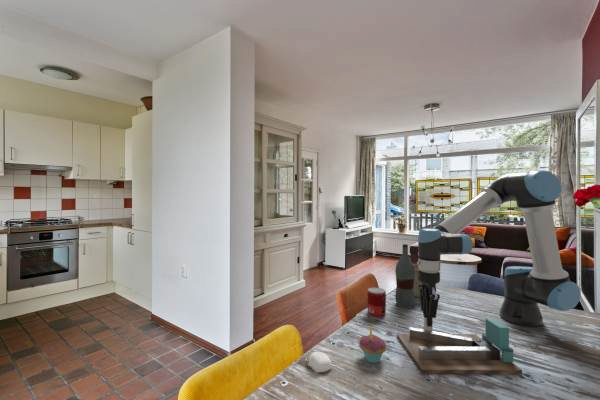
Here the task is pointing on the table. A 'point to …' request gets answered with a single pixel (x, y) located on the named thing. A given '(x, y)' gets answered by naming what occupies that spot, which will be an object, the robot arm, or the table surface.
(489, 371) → the board
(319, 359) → the garlic
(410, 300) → the bottle
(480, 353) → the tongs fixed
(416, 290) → the plant pot
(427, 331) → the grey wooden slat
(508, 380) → the table surface
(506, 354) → the teal upright slab
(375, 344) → the cupcake
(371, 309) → the canned food
